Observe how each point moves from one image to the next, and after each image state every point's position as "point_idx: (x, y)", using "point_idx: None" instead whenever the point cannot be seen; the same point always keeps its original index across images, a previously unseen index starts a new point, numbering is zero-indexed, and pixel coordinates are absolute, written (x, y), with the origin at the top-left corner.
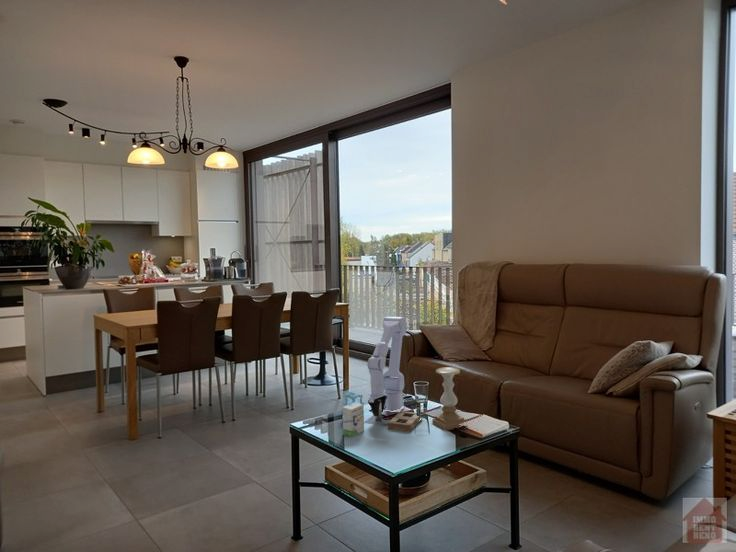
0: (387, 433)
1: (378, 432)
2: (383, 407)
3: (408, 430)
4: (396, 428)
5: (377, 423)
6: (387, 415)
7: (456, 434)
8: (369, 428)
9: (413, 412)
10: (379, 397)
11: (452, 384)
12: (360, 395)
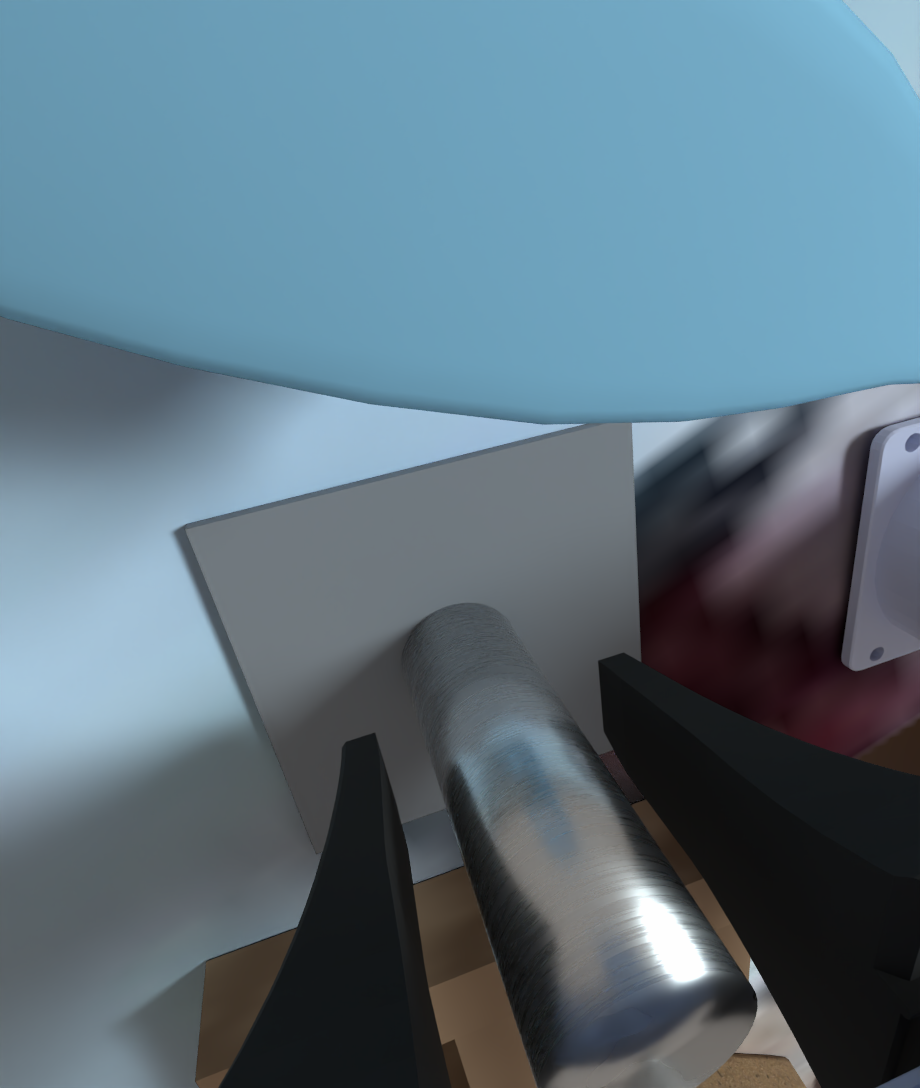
0: (83, 1043)
1: (12, 964)
2: (669, 817)
3: None
4: None
5: (313, 741)
6: (733, 592)
7: None
8: (44, 772)
9: (748, 975)
10: (866, 1002)
11: None
12: (831, 395)
